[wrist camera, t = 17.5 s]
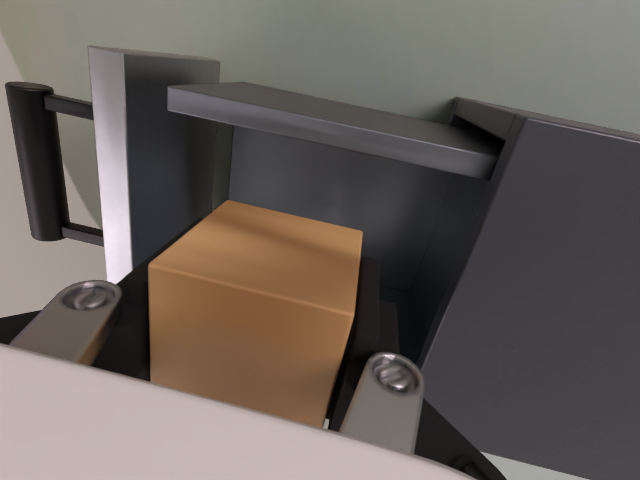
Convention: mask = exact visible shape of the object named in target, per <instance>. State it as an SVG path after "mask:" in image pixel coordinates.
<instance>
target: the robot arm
mask: <svg viewBox="0 0 640 480" xmlns="http://www.w3.org/2000/svg"><path fill="white" fill-rule="evenodd" d="M202 220H203V218H198V219H197V220H196V221H194V222H193V223H192V224H191V225H189V226H188V227H187V228H186V229H184V230H183V231H182V232H180V233H179V234H178V235H177V236H175V237H174V238H173V239H172V240H170V241H169V242H168V243H167V244H165V245H164V246H163V247H161V248H160V249H159V250H158V251H156V252H155V253H154V254H153V255H151V256H150V257H149V258H148V259H146V260H145V261H144V262H142V263H141V264H140V265H139V266H137V267H136V268H135V269H134V270H132V271H131V272H130V273H128V274H127V275H126V276H125V277H124V278H123V279H122V280H121V281H119V282H118V283H117V284H114V283H112V282H108V281H103V280H91V281H83V282H79V283H76V284H72V285H70V286H68V287H66V288H65V289H63V290H62V291H60V292H59V293H58V294H57V295H56V296H55V297H54V298H53V299H52V300H51V301H50V302H49V303H48V304H47V305H46V306H45V307H44V308H43V309H42V310H40V311H34V312H29V313H24V314H19V315H14V316H8V317H3V318H0V480H506V478H505V477H504V476H503V475H502V473H501V472H500V471H499V470H498V469H497V468H496V467H495V466H494V465H493V464H492V463H491V462H490V461H489V460H488V459H487V458H486V457H485V456H484V455H483V454H482V453H481V452H480V451H478V450H477V449H476V448H475V447H474V446H473V445H472V444H471V443H470V442H469V441H468V440H467V439H466V438H465V437H464V436H463V435H462V434H461V433H460V432H459V431H458V430H457V429H456V428H454V427H453V426H452V425H451V424H450V423H449V422H448V421H447V420H446V419H445V418H444V417H443V416H442V415H441V414H440V413H439V412H438V411H437V410H436V409H435V408H434V407H433V406H432V405H430V404H429V403H428V402H427V401H426V400H425V399H424V398H423V397H424V391H425V378H424V376H423V374H422V371H421V370H420V369H419V368H418V367H417V365H416V364H414V363H413V362H412V361H411V360H409V359H408V358H406V357H404V356H402V355H400V350H399V336H398V322H397V308H396V304H394V303H390V302H386V301H382V300H379V271H380V261H379V260H377V259H373V258H369V257H364V256H363V257H362V260H360V266H359V275H358V285H357V295H356V304H355V314H354V319H353V322H352V326H351V329H350V333H349V336H348V340H347V343H346V347H345V351H344V354H343V358H342V361H341V365H340V368H339V372H338V375H337V379H336V383H335V386H334V390H333V393H332V397H331V400H330V404H329V407H328V411H327V415H326V419H329V425H328V429H324V428H321V427H317V426H313V425H310V424H306V423H302V422H299V421H295V420H291V419H287V418H284V417H280V416H276V415H273V414H269V413H265V412H262V411H258V410H254V409H251V408H247V407H243V406H239V405H236V404H232V403H228V402H224V401H221V400H217V399H213V398H209V397H206V396H202V395H198V394H194V393H191V392H187V391H183V390H179V389H175V388H172V387H168V386H164V385H160V384H156V383H153V382H150V339H149V296H148V265H149V263H150V262H151V261H153V260H154V259H155V258H156V257H158V256H159V255H160V254H161V253H162V252H164V251H165V250H166V249H167V248H169V247H170V246H171V245H172V244H173V243H175V242H176V241H177V240H178V239H180V238H181V237H182V236H183V235H185V234H186V233H187V232H188V231H189V230H191V229H192V228H193V227H194V226H196V225H197V224H198V223H199V222H200V221H202Z"/></svg>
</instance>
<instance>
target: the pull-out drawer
mask: <svg viewBox="0 0 640 480" xmlns="http://www.w3.org/2000/svg"><path fill="white" fill-rule="evenodd" d="M88 56H89V69H90V81H91V93H92V102H87V101H83V100H78V99H74V98H69V97H64V96H60V95H55V94H54V90H53V88H52V87H49V86H47V85H42V84H37V83H29V82H8V83H6V84H5V88H6V94H7V100H8V105H9V111H10V117H11V122H12V128H13V134H14V139H15V145H16V151H17V156H18V162H19V167H20V173H21V179H22V184H23V190H24V196H25V201H26V206H27V212H28V218H29V224H30V230H31V235H32V237H33V238H35V239H36V240H39V241H57V240H61V239H64V238H70V239H75V240H79V241H83V242H87V243H91V244H95V245H99V246H104V251H105V264H106V276H107V281H108V282H112V283H114V284H117V283H118V282H119V281H121V280H122V279H123V278H124V277H125V276H126V275H127V274H128V273H130V272H131V271H132V270H134V269H135V268H136V267H137V266H139V265H140V264H141V263H142V262H144V261H145V260H146V259H148V258H149V257H150V256H151V255H153V254H154V253H155V252H156V251H158V250H159V249H160V248H161V247H163V246H164V245H165V244H167V243H168V242H169V241H170V240H172V239H173V238H174V237H175V236H177V235H178V234H179V233H180V232H182V231H183V230H184V229H186V228H187V227H188V226H189V225H191V224H192V223H193V222H194V221H196V220H197V219H198V218H203V219H204V218H205V217H207V216H208V215H209V214H210V213H211V210H212V193H213V176H214V159H215V143H216V126H217V122H220V123H225V124H229V125H234V129H233V142H232V154H231V167H230V179H229V192H228V200H230V201H235V202H239V203H243V204H248V205H252V206H256V207H261V208H265V209H269V210H274V211H278V212H282V213H287V214H291V215H295V216H299V217H304V218H308V219H312V220H317V221H321V222H325V223H330V224H334V225H338V226H343V227H347V228H351V229H356V230H360V231H362V232H363V237H362V247H361V256H360V260H362V257H363V256H364V257H369V258H373V259H377V260H379V261H380V271H379V300H382V301H386V302H390V303H394V304H396V308H397V322H398V336H399V350H400V355H402V356H404V357H406V358H408V359H409V360H411V361H412V362H413V363H414V364H416V363H417V361H418V358H419V356H420V353H421V351H422V348H423V346H424V343H425V341H426V339H427V336H428V334H429V331H430V329H431V326H432V324H433V321H434V319H435V316H436V314H437V311H438V309H439V306H440V304H441V301H442V299H443V296H444V294H445V291H446V289H447V286H448V284H449V281H450V279H451V276H452V274H453V271H454V269H455V266H456V264H457V262H458V259H459V257H460V254H461V252H462V249H463V247H464V244H465V242H466V239H467V237H468V234H469V232H470V229H471V227H472V224H473V222H474V219H475V217H476V214H477V212H478V209H479V207H480V204H481V202H482V199H483V197H484V194H485V192H486V189H487V187H488V185H489V182H490V180H491V177H492V175H493V172H494V170H495V167H496V165H497V162H498V160H499V157H500V155H501V152H502V150H503V147H504V145H502V144H500V143H498V142H496V141H495V140H493V139H491V138H489V137H488V136H486V135H484V134H482V133H481V132H478V131H473V130H468V129H463V128H459V127H454V126H449V125H445V124H440V123H435V122H430V121H426V120H421V119H416V118H412V117H407V116H402V115H397V114H393V113H388V112H383V111H379V110H374V109H369V108H364V107H360V106H355V105H350V104H346V103H341V102H336V101H331V100H327V99H322V98H317V97H313V96H308V95H303V94H299V93H294V92H289V91H284V90H280V89H275V88H270V87H266V86H261V85H256V84H251V83H247V82H231V83H219V76H220V61H217V60H212V59H208V58H203V57H198V56H188V55H178V54H168V53H158V52H148V51H138V50H129V49H119V48H109V47H99V46H88ZM56 112H59V113H63V114H68V115H72V116H77V117H81V118H86V119H90V120H94V130H95V142H96V154H97V166H98V178H99V191H100V203H101V215H102V227H103V230H101V229H96V228H92V227H88V226H84V225H79V224H75V223H71V222H70V219H69V211H68V203H67V195H66V187H65V179H64V171H63V163H62V155H61V147H60V139H59V130H58V122H57V114H56Z"/></svg>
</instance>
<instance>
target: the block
mask: <svg viewBox="0 0 640 480" xmlns="http://www.w3.org/2000/svg"><path fill="white" fill-rule="evenodd" d="M362 237H363V232H362V231H360V230H356V229H351V228H347V227H343V226H338V225H334V224H330V223H325V222H321V221H317V220H312V219H308V218H304V217H299V216H295V215H291V214H287V213H282V212H278V211H274V210H269V209H265V208H261V207H256V206H252V205H248V204H243V203H239V202H235V201H230V200H226V201H225V202H224V203H223V204H221V205H220V206H219V207H218V208H216V209H215V210H214V211H213V212H211V213H210V214H209V215H208V216H207V217H205V218H204V219H203V220H202V221H200V222H199V223H198V224H197V225H196V226H194V227H193V228H192V229H191V230H189V231H188V232H187V233H186V234H185V235H183V236H182V237H181V238H180V239H178V240H177V241H176V242H175V243H173V244H172V245H171V246H170V247H169V248H167V249H166V250H165V251H164V252H162V253H161V254H160V255H159V256H158V257H156V258H155V259H154V260H153V261H151V262H150V263H149V265H148V296H149V339H150V382H153V383H156V384H160V385H164V386H168V387H172V388H175V389H179V390H183V391H187V392H191V393H194V394H198V395H202V396H206V397H209V398H213V399H217V400H221V401H224V402H228V403H232V404H236V405H239V406H243V407H247V408H251V409H254V410H258V411H262V412H265V413H269V414H273V415H276V416H280V417H284V418H287V419H291V420H295V421H299V422H302V423H306V424H310V425H313V426H317V427H321V428H323V425H324V422H325V418H326V415H327V411H328V407H329V404H330V400H331V397H332V393H333V390H334V386H335V383H336V379H337V375H338V372H339V368H340V365H341V361H342V358H343V354H344V351H345V347H346V343H347V340H348V336H349V333H350V329H351V326H352V322H353V319H354V314H355V304H356V295H357V285H358V275H359V266H360V256H361V247H362Z"/></svg>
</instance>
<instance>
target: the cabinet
mask: <svg viewBox="0 0 640 480" xmlns="http://www.w3.org/2000/svg"><path fill="white" fill-rule="evenodd" d="M447 125H449V126H454V127H459V128H463V129H468V130H473V131H478V132H481V133H482V134H484V135H486V136H488V137H489V138H491V139H493V140H495V141H496V142H498V143H500V144H502V145H504V147H503V150H502V152H501V155H500V157H499V160H498V162H497V165H496V167H495V170H494V172H493V175H492V177H491V180H490V182H489V185H488V187H487V189H486V192H485V194H484V197H483V199H482V202H481V204H480V207H479V209H478V212H477V214H476V217H475V219H474V222H473V224H472V227H471V229H470V232H469V234H468V237H467V239H466V242H465V244H464V247H463V249H462V252H461V254H460V257H459V259H458V262H457V264H456V266H455V269H454V271H453V274H452V276H451V279H450V281H449V284H448V286H447V289H446V291H445V294H444V296H443V299H442V301H441V304H440V306H439V309H438V311H437V314H436V316H435V319H434V321H433V324H432V326H431V329H430V331H429V334H428V336H427V339H426V341H425V343H424V346H423V348H422V351H421V353H420V356H419V358H418V361H417V363H416V365H417V367H418V368H419V369H420V370H421V371H422V374H423V376H424V378H425V391H424V397H423V398H424V399H425V400H426V401H427V402H428V403H429V404H430V405H432V406H433V407H434V408H435V409H436V410H437V411H438V412H439V413H440V414H441V415H442V416H443V417H444V418H445V419H446V420H447V421H448V422H449V423H450V424H451V425H452V426H453V427H454V428H456V429H457V430H458V431H459V432H460V433H461V434H462V435H463V436H464V437H465V438H466V439H467V440H468V441H469V442H470V443H471V444H472V445H473V446H474V447H475V448H476V449H477V450H478V451H481V452H485V453H488V454H492V455H496V456H500V457H504V458H508V459H512V460H516V461H520V462H523V463H527V464H531V465H535V466H539V467H543V468H547V469H551V470H554V471H558V472H562V473H566V474H570V475H574V476H578V477H582V478H586V479H589V480H640V135H639V134H634V133H629V132H625V131H620V130H615V129H610V128H605V127H600V126H596V125H591V124H586V123H581V122H576V121H572V120H567V119H562V118H557V117H552V116H548V115H543V114H538V113H533V112H528V111H524V110H519V109H514V108H509V107H504V106H500V105H495V104H490V103H485V102H480V101H475V100H471V99H466V98H461V97H456V98H455V101H454V104H453V107H452V110H451V113H450V116H449V119H448V122H447Z"/></svg>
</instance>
